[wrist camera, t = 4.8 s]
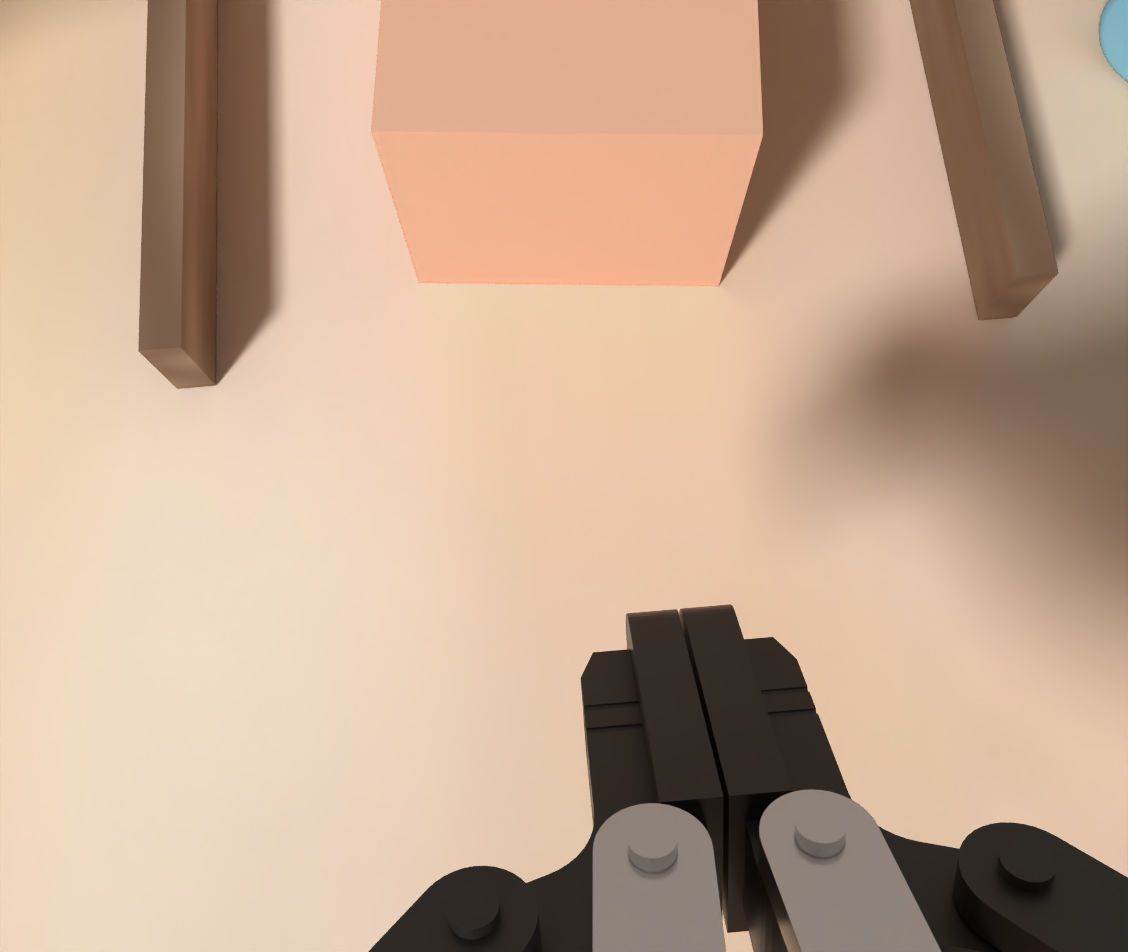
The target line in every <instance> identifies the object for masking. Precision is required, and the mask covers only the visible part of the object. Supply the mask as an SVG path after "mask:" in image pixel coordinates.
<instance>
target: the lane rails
mask: <svg viewBox="0 0 1128 952" xmlns="http://www.w3.org/2000/svg"><path fill="white" fill-rule="evenodd" d="M910 4H911V9H912V13H913V18H914V23H915V27H916V32H917V37H918V41H919V46H920V51H921V55H922V60H923V64H924V69H925V74H926V78H927V83H928V88H929V92H930V97H931V102H932V106H933V111H934V116H935V120H936V125H937V130H938V134H939V139H940V143H941V148H942V153H943V157H944V162H945V167H946V171H947V176H948V181H949V185H950V190H951V195H952V199H953V204H954V209H955V213H956V218H957V223H958V227H959V232H960V236H961V241H962V246H963V250H964V255H965V260H966V264H967V269H968V274H969V278H970V283H971V288H972V292H973V297H974V302H975V306H976V311H977V315H978V320H987V319H999V318H1010V317H1017V316H1018V315H1019V314H1020V313H1021V311H1022V310H1023V309H1024V308H1025V307H1026V306H1027V305H1028V304H1029V303H1030V302H1031V301H1032V300H1033V299H1034V298H1035V297H1036V296H1037V295H1038V294H1039V293H1040V292H1041V291H1042V290H1043V289H1044V288H1045V286H1046V285H1047V284H1048V283H1049V282H1050V281H1051V280H1052V279H1053V278H1054V277H1055V276H1056V275H1057V274H1058V269H1057V265H1056V261H1055V256H1054V252H1053V248H1052V244H1051V240H1050V236H1049V232H1048V227H1047V223H1046V219H1045V215H1044V211H1043V207H1042V203H1041V198H1040V194H1039V190H1038V186H1037V182H1036V178H1035V174H1034V169H1033V165H1032V161H1031V157H1030V153H1029V149H1028V145H1027V140H1026V136H1025V132H1024V128H1023V124H1022V120H1021V116H1020V111H1019V107H1018V103H1017V99H1016V95H1015V91H1014V87H1013V82H1012V78H1011V74H1010V70H1009V66H1008V62H1007V58H1006V53H1005V49H1004V45H1003V41H1002V37H1001V33H1000V29H999V25H998V20H997V16H996V12H995V8H994V4H993V0H910ZM216 212H217V0H148V18H147V55H146V93H145V130H144V167H143V205H142V242H141V279H140V316H139V352H140V353H141V354H142V355H143V356H144V357H145V358H146V359H147V360H148V361H149V362H150V363H151V364H152V365H153V366H154V367H156V368H157V369H158V370H159V371H160V372H161V373H162V374H163V375H164V376H165V377H166V378H167V379H168V380H169V381H170V382H171V383H172V384H173V385H174V386H175V387H176V388H177V389H179V388H191V387H202V386H214V385H216Z"/></svg>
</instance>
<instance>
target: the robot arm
mask: <svg viewBox="0 0 1128 952" xmlns="http://www.w3.org/2000/svg"><path fill="white" fill-rule="evenodd" d="M626 636H627V650H617V651H606V652H594V653H593V654H592V656H591V658H590V660H589V662H588V664H587V666H586V668H585V670H584V672H583V674H582V677H581V688H582V701H583V715H584V728H585V741H586V754H587V766H588V776H589V786H590V797H591V807H592V818H593V832H592V834H591V837H590V839H589V841H588V843H587V845H586V846H585V848H584V849H583V850H582V852H581V853H580V854H579V855H578V856H577V857H576V858H575V859H574V860H572V861H571V862H570V863H569V864H567V865H566V866H564V867H563V868H561V869H559V870H557V871H555V872H553V873H551V874H549V875H546V876H543V877H541V878H538V879H536V880H533V881H531V882H528V883H525V882H524V881H523V880H522V879H521V878H519V877H518V876H516V875H515V874H513V873H511V872H509V871H507V870H505V869H501V868H497V867H490V866H473V867H468V868H463V869H460V870H457V871H454V872H452V873H450V874H448V875H446V876H444V877H442V878H441V879H439V880H438V881H436V882H435V883H434V884H433V885H432V886H430V887H429V888H428V889H427V890H426V891H425V892H424V893H423V894H422V896H421V897H420V898H419V899H418V900H417V901H416V902H415V903H414V904H413V905H412V906H411V907H410V908H409V909H408V910H407V911H406V912H405V914H404V915H403V916H402V917H401V918H400V919H399V920H398V921H397V922H396V923H395V924H394V925H393V926H392V927H391V928H390V929H389V930H388V932H387V933H386V934H385V935H384V936H383V937H382V938H381V939H380V940H379V941H378V942H377V943H376V944H375V945H374V946H373V947H372V948H371V950H370V951H369V952H726V947H725V939H724V931H723V923H722V910H723V914H724V919H725V924H726V928H727V933H730V932H741V931H749V934H750V938H751V943H752V947H753V951H754V952H1128V878H1127V877H1126V876H1124V875H1122V874H1120V873H1119V872H1117V871H1115V870H1114V869H1112V868H1110V867H1108V866H1107V865H1105V864H1103V863H1101V862H1100V861H1098V860H1096V859H1094V858H1093V857H1091V856H1089V855H1088V854H1086V853H1084V852H1082V851H1081V850H1079V849H1077V848H1075V847H1074V846H1072V845H1070V844H1069V843H1067V842H1065V841H1063V840H1062V839H1060V838H1058V837H1056V836H1054V835H1052V834H1050V833H1048V832H1046V831H1044V830H1041V829H1039V828H1036V827H1033V826H1029V825H1025V824H1018V823H995V824H989V825H986V826H983V827H980V828H978V829H976V830H974V831H973V832H972V833H971V834H969V835H968V836H967V837H966V839H965V840H964V841H963V843H962V845H961V847H960V849H957V848H951V847H946V846H940V845H935V844H929V843H923V842H918V841H914V840H910V839H906V838H903V837H900V836H897V835H894V834H892V833H890V832H888V831H886V830H884V829H882V828H881V827H879V826H878V825H877V823H876V822H875V820H874V819H873V817H872V816H871V815H870V814H869V813H868V812H867V811H866V810H865V809H864V808H863V807H862V806H860V805H859V804H858V803H856V802H854V801H853V800H852V799H851V797H850V795H849V793H848V791H847V788H846V786H845V783H844V780H843V778H842V775H841V773H840V770H839V767H838V765H837V762H836V760H835V757H834V754H833V752H832V749H831V747H830V744H829V741H828V739H827V736H826V734H825V731H824V729H823V726H822V723H821V721H820V718H819V716H818V714H816V708H815V705H814V703H813V700H812V697H811V695H810V692H808V690H807V684H806V682H805V679H804V677H803V674H802V671H801V669H800V666H799V664H798V661H797V659H796V658H795V657H794V656H793V655H792V654H791V653H789V652H788V651H787V650H786V649H785V648H784V647H783V646H782V645H781V644H780V643H779V642H778V641H777V640H776V639H774V638H773V637H768V638H756V639H745V640H744V638H743V635H742V632H741V629H740V626H739V623H738V620H737V617H736V614H735V611H734V608H733V606H732V605H720V606H708V607H696V608H684V609H680V612H679V613H678V611H677V609H675V610H663V611H651V612H639V613H627V614H626Z"/></svg>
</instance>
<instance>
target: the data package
mask: <svg viewBox="0 0 1128 952" xmlns="http://www.w3.org/2000/svg"><path fill="white" fill-rule="evenodd" d="M1099 39H1100V44H1101V47H1102V50H1103V53H1104V55H1105V57H1106V59H1107V61H1108V62H1109V64H1110V65H1111V66H1112V68H1113V69H1114V70H1115V71H1116V72H1117V73H1118V74H1119V75H1120V76H1121V77H1122V78H1123V79H1125V80H1126V81H1127V82H1128V0H1109V1H1108V3H1107V4H1106V6H1105V8H1104V10H1103V13H1102V15H1101V19H1100V24H1099Z"/></svg>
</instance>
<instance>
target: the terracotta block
mask: <svg viewBox="0 0 1128 952" xmlns="http://www.w3.org/2000/svg"><path fill="white" fill-rule="evenodd" d="M371 132H372V136H373V139H374V142H375V145H376V148H377V152H378V155H379V158H380V161H381V164H382V167H383V171H384V174H385V177H386V180H387V183H388V187H389V190H390V193H391V196H392V199H393V203H394V206H395V209H396V212H397V215H398V219H399V222H400V225H401V228H402V231H403V235H404V238H405V241H406V244H407V247H408V250H409V254H410V257H411V260H412V263H413V266H414V270H415V273H416V276H417V279H418V282H419V283H446V284H536V285H626V286H716V287H719V283H720V280H721V277H722V273H723V270H724V266H725V263H726V260H727V256H728V253H729V249H730V246H731V243H732V239H733V236H734V232H735V229H736V226H737V222H738V219H739V215H740V212H741V209H742V205H743V202H744V198H745V195H746V192H747V188H748V185H749V181H750V178H751V175H752V171H753V168H754V164H755V161H756V158H757V154H758V151H759V147H760V144H761V141H762V137H763V120H762V95H761V71H760V46H759V22H758V0H381V12H380V25H379V38H378V51H377V64H376V76H375V89H374V102H373V115H372V128H371Z"/></svg>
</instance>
